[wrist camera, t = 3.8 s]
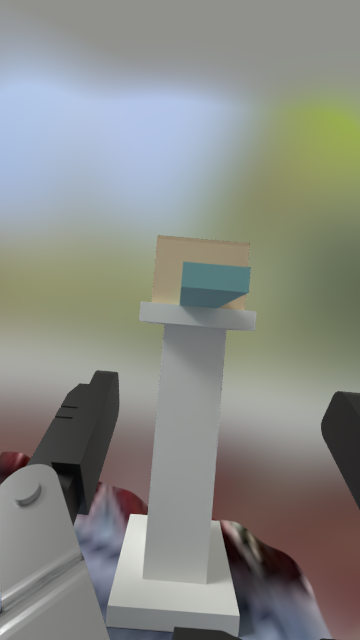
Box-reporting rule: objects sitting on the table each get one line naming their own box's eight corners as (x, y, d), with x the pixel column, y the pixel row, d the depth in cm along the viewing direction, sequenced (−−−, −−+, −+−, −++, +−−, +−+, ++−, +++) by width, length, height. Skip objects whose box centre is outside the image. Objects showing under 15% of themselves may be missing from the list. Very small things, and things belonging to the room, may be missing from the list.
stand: (238, 636, 26) (262, 311, 27) (105, 626, 26) (135, 300, 27) (218, 535, 39) (235, 317, 40) (129, 528, 39) (148, 309, 40)
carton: (299, 296, 16) (307, 174, 16) (130, 282, 16) (141, 159, 16) (227, 315, 39) (231, 265, 39) (158, 309, 39) (162, 259, 39)
